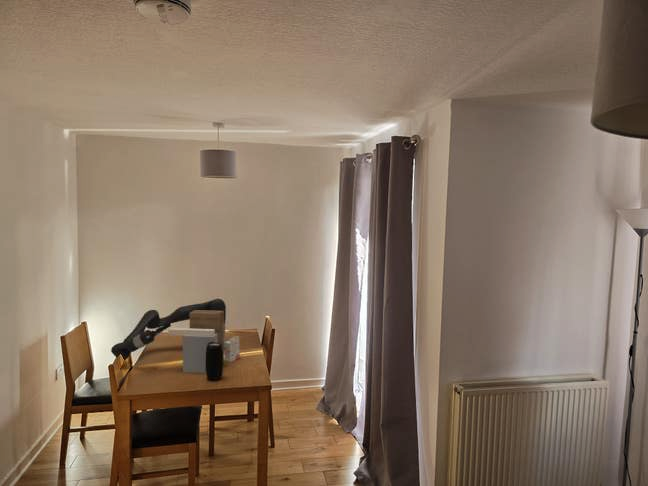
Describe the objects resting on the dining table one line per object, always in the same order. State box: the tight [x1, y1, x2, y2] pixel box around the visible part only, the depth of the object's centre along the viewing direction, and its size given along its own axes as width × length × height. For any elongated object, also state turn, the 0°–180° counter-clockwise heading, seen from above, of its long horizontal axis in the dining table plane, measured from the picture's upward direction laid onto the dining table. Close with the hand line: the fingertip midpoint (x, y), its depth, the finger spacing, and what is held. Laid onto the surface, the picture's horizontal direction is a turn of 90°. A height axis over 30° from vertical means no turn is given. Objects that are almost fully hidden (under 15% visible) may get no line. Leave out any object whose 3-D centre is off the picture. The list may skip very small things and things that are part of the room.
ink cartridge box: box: [224, 335, 240, 363], centre depth 267 cm, size 9×5×15 cm, turn 148°
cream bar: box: [167, 327, 215, 336], centre depth 247 cm, size 4×26×3 cm, turn 85°
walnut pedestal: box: [189, 310, 225, 364], centre depth 257 cm, size 8×18×32 cm, turn 85°
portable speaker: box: [205, 342, 224, 382], centre depth 235 cm, size 9×9×20 cm
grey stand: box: [182, 334, 218, 374], centre depth 247 cm, size 7×18×21 cm, turn 85°
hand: (167, 326), depth 248 cm, fingers open, 8 cm apart
